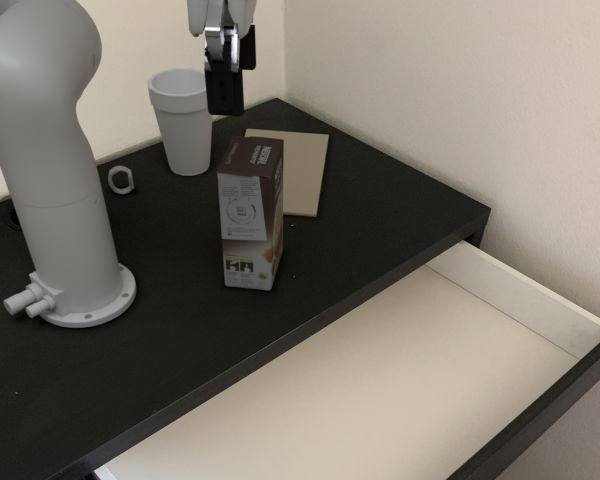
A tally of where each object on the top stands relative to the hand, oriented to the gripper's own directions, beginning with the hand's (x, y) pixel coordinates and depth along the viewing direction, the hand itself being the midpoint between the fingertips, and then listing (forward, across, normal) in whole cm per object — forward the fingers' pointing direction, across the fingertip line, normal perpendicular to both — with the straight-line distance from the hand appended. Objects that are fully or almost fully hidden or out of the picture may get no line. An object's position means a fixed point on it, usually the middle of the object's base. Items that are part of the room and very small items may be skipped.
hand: (233, 90), depth 63 cm
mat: (+27, -33, +1) cm, 43 cm away
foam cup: (+27, -33, -13) cm, 45 cm away
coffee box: (+27, -8, 0) cm, 28 cm away
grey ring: (+27, -24, -21) cm, 42 cm away
